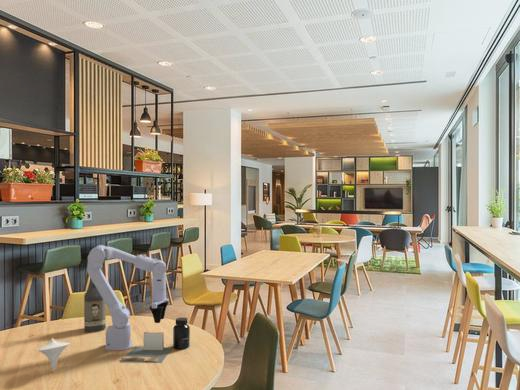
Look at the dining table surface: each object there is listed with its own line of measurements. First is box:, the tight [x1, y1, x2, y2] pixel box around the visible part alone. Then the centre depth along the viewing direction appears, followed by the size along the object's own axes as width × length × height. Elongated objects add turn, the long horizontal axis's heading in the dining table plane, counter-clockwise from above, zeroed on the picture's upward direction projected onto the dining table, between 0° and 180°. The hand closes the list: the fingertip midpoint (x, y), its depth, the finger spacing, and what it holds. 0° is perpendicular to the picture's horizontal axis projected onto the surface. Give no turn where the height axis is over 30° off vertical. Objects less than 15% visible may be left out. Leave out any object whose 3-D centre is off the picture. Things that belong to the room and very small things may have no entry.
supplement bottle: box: [172, 317, 191, 351], centre depth 170 cm, size 7×7×12 cm
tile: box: [143, 331, 165, 350], centre depth 167 cm, size 8×2×7 cm, turn 87°
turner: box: [120, 355, 160, 362], centre depth 156 cm, size 14×4×1 cm, turn 87°
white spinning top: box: [36, 337, 71, 373], centre depth 147 cm, size 10×11×12 cm
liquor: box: [83, 278, 107, 333], centre depth 196 cm, size 9×9×30 cm
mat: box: [119, 346, 174, 364], centre depth 162 cm, size 16×16×1 cm
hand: (159, 320), depth 175 cm, fingers open, 5 cm apart
